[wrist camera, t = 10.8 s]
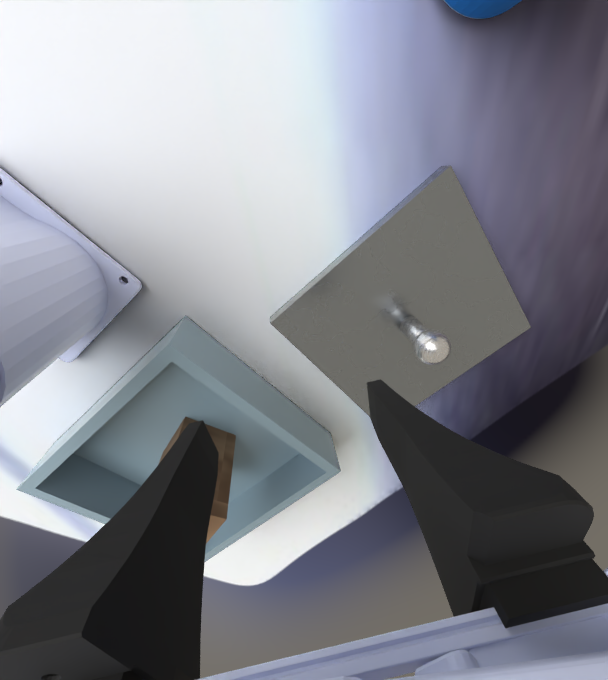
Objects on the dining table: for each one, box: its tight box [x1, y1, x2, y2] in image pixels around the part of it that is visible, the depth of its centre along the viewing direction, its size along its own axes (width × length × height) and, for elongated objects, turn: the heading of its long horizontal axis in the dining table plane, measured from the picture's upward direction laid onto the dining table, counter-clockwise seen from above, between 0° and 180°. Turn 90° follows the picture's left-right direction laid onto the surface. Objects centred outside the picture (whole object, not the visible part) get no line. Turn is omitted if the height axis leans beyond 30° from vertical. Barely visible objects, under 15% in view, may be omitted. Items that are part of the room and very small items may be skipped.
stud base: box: [270, 166, 531, 416], centre depth 20 cm, size 14×14×5 cm
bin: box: [16, 316, 341, 562], centre depth 23 cm, size 16×16×4 cm
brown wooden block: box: [158, 417, 236, 543], centre depth 21 cm, size 4×4×7 cm
